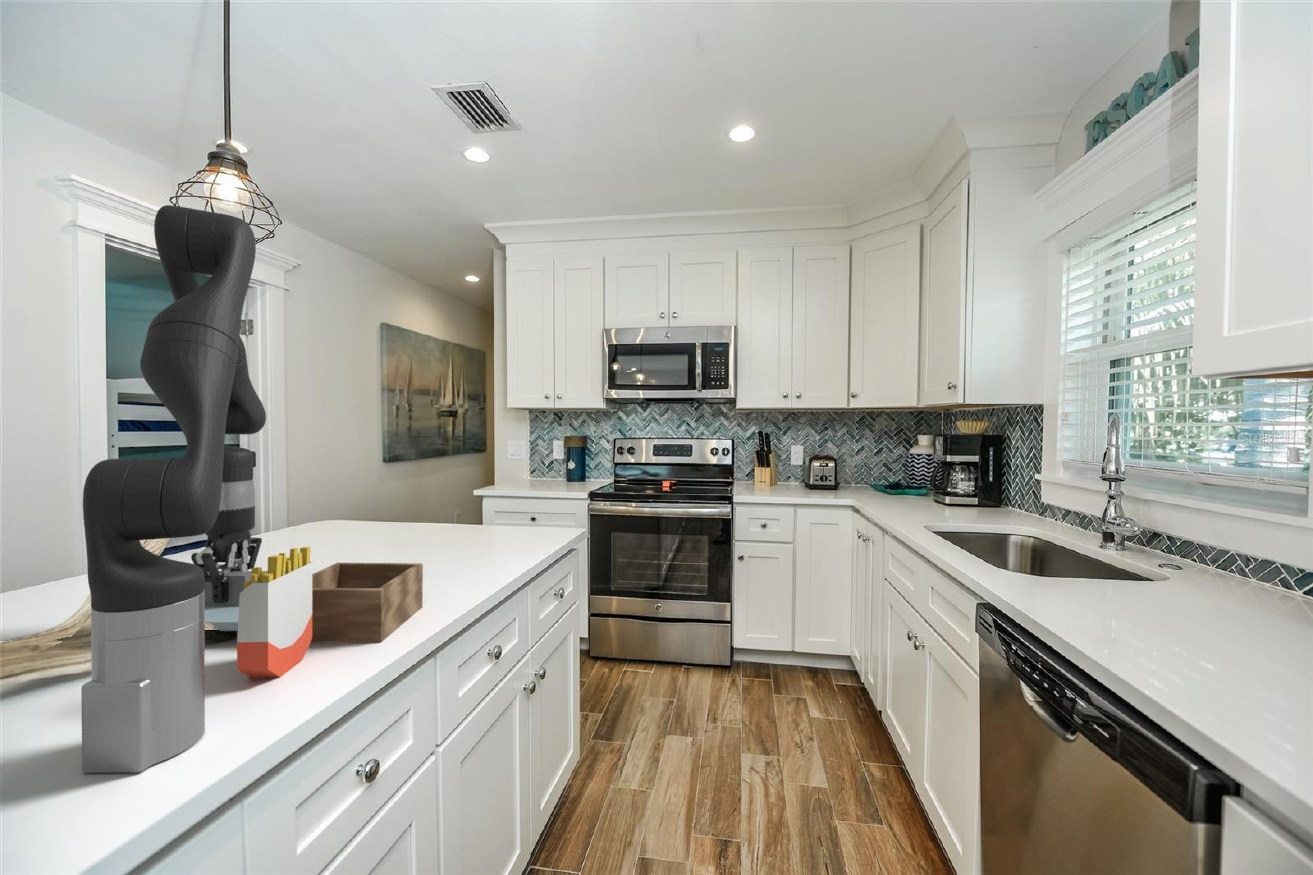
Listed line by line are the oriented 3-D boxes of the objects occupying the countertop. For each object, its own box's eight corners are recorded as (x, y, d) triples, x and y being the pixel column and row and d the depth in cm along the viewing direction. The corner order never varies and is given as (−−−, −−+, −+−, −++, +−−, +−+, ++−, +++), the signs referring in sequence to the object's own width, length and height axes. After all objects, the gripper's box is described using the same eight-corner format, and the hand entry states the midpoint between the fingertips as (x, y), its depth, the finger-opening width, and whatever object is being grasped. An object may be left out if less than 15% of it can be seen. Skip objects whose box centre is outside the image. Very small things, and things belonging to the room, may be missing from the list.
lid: (241, 635, 86) (241, 589, 85) (129, 635, 85) (129, 588, 85) (310, 598, 104) (310, 560, 103) (218, 598, 103) (218, 559, 103)
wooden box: (381, 642, 88) (381, 590, 88) (279, 642, 87) (279, 589, 87) (422, 607, 105) (422, 563, 105) (337, 606, 104) (337, 562, 104)
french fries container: (234, 687, 73) (233, 560, 72) (282, 653, 83) (282, 542, 83) (268, 686, 73) (268, 560, 72) (312, 652, 84) (312, 542, 83)
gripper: (218, 512, 87) (219, 613, 87) (276, 499, 101) (276, 587, 101) (172, 511, 87) (173, 613, 87) (237, 499, 101) (237, 586, 101)
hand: (229, 598), depth 94 cm, fingers closed on lid, 3 cm apart
